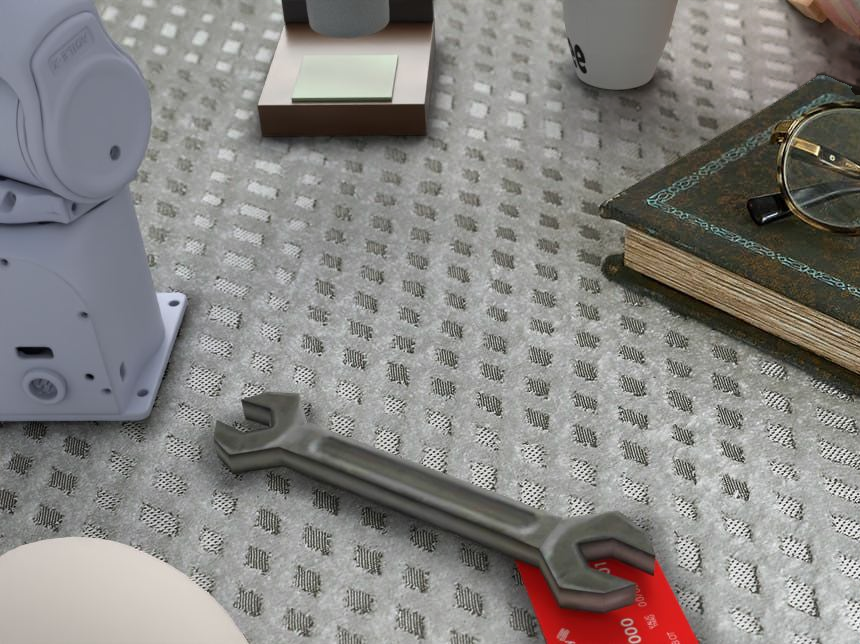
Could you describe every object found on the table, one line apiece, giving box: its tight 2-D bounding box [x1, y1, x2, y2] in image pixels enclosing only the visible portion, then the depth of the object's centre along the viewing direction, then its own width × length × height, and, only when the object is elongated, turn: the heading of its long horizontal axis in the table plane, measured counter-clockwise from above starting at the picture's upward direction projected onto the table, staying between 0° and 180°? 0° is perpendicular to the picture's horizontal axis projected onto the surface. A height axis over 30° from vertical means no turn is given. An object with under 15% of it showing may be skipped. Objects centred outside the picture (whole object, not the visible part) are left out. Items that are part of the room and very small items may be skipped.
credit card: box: [514, 557, 700, 644], centre depth 45 cm, size 8×5×1 cm, turn 15°
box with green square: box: [257, 0, 437, 137], centre depth 76 cm, size 13×10×4 cm
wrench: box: [212, 391, 656, 614], centre depth 48 cm, size 5×2×20 cm
